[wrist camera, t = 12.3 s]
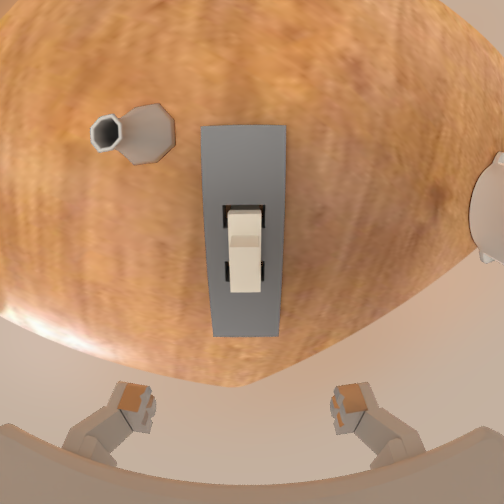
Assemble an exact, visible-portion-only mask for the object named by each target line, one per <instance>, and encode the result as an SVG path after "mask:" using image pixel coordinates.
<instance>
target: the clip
mask: <svg viewBox="0 0 504 504" xmlns="http://www.w3.org/2000/svg"><path fill="white" fill-rule="evenodd" d="M228 241H229V268H230V291H231V292H261V210H260V208H259V205H231V208H230V210H229V211H228Z"/></svg>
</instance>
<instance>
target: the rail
mask: <svg viewBox="0 0 504 504" xmlns="http://www.w3.org/2000/svg"><path fill="white" fill-rule="evenodd" d="M201 165H202V192H203V213H204V231H205V246H206V260H207V273H208V286H209V297H210V308H211V318H212V328H213V337H276V336H279V321H280V304H281V286H282V266H283V243H284V216H285V177H286V126H285V125H222V126H202V127H201ZM226 205H263V218H261V261H263V266H261V292H231V291H230V268H229V266H228V261H229V241H228V218H226Z"/></svg>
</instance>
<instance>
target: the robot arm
mask: <svg viewBox="0 0 504 504" xmlns="http://www.w3.org/2000/svg"><path fill="white" fill-rule="evenodd" d="M469 222H470V230H471V234H472V237H473V240H474V242H475V243H476V245H477V246H478V248H479V254H480V259H481V261H482V262H484V263H489V262H492V261H495V260H496V261H497V262H499V263H501V264H502V265H504V153H503V152H501V151H499V152H498V153H497V155H496V156H495V159H494V161H493V163H492V164H491V165H490V166H489V167H488V168H486V169H485V170H484V172H483V173H482V174H481V176H480V177H479V179H478V181H477V183H476V185H475V188H474V191H473V194H472V199H471V204H470V214H469ZM151 392H152V390H151V388H150V386H145V385H138V384H133V383H127V382H121V381H119V382H118V383H117V384H116V386H115V388H114V391H113V393H112V395H111V398H110V400H109V402H108V405H107V407H105V406H103V407H102V408H100V409H99V410H98V411H96V412H94V413H93V414H92V415H90V416H89V417H87V418H86V419H84V420H83V421H81V422H79V423H78V424H76V425H75V426H73V427H72V428H71V429H70V430H69V432H68V435H67V437H66V439H65V441H64V444H63V446H62V448H59V447H57V446H54V445H52V444H50V443H48V442H46V441H44V440H41V439H39V438H37V437H35V436H33V435H31V434H29V433H27V432H25V431H24V430H22V429H20V428H18V427H17V426H15V425H13V424H9V423H8V424H4V425H2V426H0V504H504V436H503V435H502V434H500V433H498V432H496V431H494V430H492V429H490V428H488V427H485V426H481V427H479V428H476V429H475V430H473V431H471V432H469V433H467V434H465V435H463V436H461V437H459V438H457V439H455V440H453V441H451V442H448V443H446V444H444V445H442V446H439V447H437V448H435V449H432V450H430V451H427V452H426V450H425V448H424V446H423V443H422V441H421V439H420V436H419V434H418V432H417V431H416V430H414V429H413V428H412V427H410V426H408V425H407V424H406V423H404V422H402V421H401V420H400V419H398V418H397V417H395V416H394V415H392V414H391V413H389V412H388V411H386V410H385V409H383V408H379V406H378V404H377V401H376V398H375V396H374V394H373V392H372V389H371V387H370V384H369V383H368V382H363V383H357V384H356V383H355V384H349V385H342V386H336V387H335V389H334V396H333V397H332V398H331V402H330V410H331V414H332V416H333V417H334V418H335V421H334V427H335V431H336V435H340V434H347V433H353V432H354V434H355V435H356V436H358V438H360V439H361V440H362V441H363V442H364V443H365V444H366V445H367V446H368V447H369V448H370V449H371V450H372V451H374V453H376V454H377V455H378V456H377V457H376V458H375V459H374V461H373V462H372V463H371V464H370V468H371V470H368V471H364V472H360V473H355V474H350V475H345V476H340V477H335V478H329V479H322V480H316V481H308V482H298V483H287V484H272V485H224V484H207V483H197V482H188V481H180V480H173V479H167V478H161V477H156V476H150V475H145V474H141V473H137V472H132V471H128V470H124V469H120V468H117V467H116V465H117V462H116V460H115V459H114V458H113V457H112V456H111V455H110V453H111V452H112V451H113V450H114V449H115V448H116V447H117V446H119V445H120V444H121V443H122V442H123V441H124V440H125V439H126V438H127V437H128V436H129V435H130V434H131V433H132V432H133V431H136V432H142V433H148V434H149V433H150V430H151V426H152V423H153V422H152V420H151V417H153V416H154V415H155V412H156V400H155V397H154V396H153V395H151Z"/></svg>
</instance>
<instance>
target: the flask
mask: <svg viewBox="0 0 504 504" xmlns="http://www.w3.org/2000/svg"><path fill="white" fill-rule="evenodd" d="M90 138H91V144H92V145H93V146H94V147H95V149H96V150H97V151H98V152H99V153H101V152H106V151H111V150H114V149H115V150H118V151H119V152H120V153H122V154H123V155H124V156H125V157H126V158H127V159H128V160H129V161H130V162H131V163H132V164H133V165H140V164H148V163H156V162H158V161H159V160H160V159H161V158H162V157H163V156H164V155H165V154H166V153H167V152H168V151H169V150H171V149H172V148H173V147H174V146H175V129H174V120H173V118H172V117H171V116H170V115H169V114H168V113H167V112H166V111H165V109H164V108H163V107H162V106H161V105H160V104H159V103H156V104H151V105H145V106H140V107H135V108H134V109H132V110H131V111H130V112H128V113H127V114H126V115H124V116H122V117H121V118H117V117H116V115H115V114H109V115H105V116H101V117H99V118H98V119H97V120H96V122H95V123H94V124H93V125H92V126H91V128H90Z"/></svg>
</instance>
